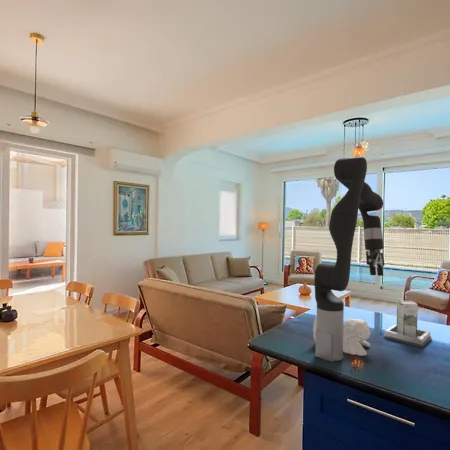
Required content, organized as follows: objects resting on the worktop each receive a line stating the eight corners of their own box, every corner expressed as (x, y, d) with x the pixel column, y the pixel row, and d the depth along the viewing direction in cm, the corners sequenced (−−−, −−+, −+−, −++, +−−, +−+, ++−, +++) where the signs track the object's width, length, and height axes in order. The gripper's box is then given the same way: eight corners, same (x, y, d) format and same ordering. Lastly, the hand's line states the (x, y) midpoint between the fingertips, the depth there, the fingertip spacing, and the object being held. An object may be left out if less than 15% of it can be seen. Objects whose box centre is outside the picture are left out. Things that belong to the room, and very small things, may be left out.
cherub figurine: (322, 311, 130) (372, 314, 118) (324, 340, 129) (376, 347, 117) (311, 317, 120) (365, 321, 108) (313, 349, 119) (369, 357, 107)
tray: (421, 347, 118) (421, 340, 118) (383, 337, 128) (383, 330, 128) (431, 338, 127) (431, 331, 127) (394, 330, 138) (395, 323, 138)
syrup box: (410, 333, 130) (410, 300, 130) (417, 338, 124) (418, 303, 124) (396, 333, 131) (396, 299, 131) (403, 338, 125) (403, 303, 125)
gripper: (376, 236, 129) (380, 274, 126) (387, 239, 139) (391, 275, 135) (358, 238, 134) (361, 275, 131) (370, 241, 144) (374, 275, 141)
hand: (376, 275), depth 133 cm, fingers open, 8 cm apart
